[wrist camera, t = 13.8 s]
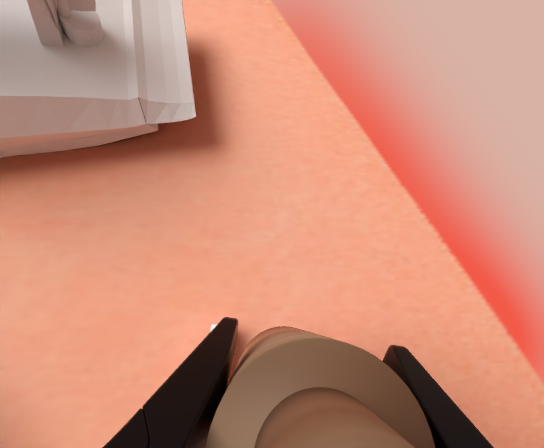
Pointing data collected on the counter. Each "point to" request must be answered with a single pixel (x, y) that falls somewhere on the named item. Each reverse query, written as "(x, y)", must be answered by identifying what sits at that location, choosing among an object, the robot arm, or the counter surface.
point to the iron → (90, 72)
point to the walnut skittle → (315, 398)
